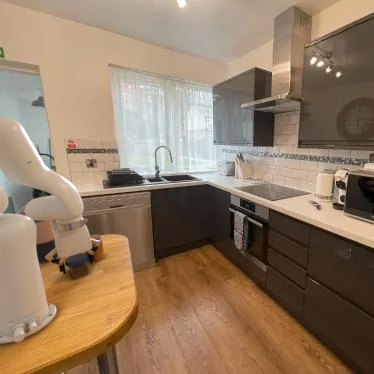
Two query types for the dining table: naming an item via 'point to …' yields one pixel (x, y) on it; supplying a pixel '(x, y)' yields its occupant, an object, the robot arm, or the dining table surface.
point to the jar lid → (76, 260)
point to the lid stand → (79, 271)
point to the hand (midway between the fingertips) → (78, 267)
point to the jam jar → (100, 251)
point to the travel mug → (44, 239)
